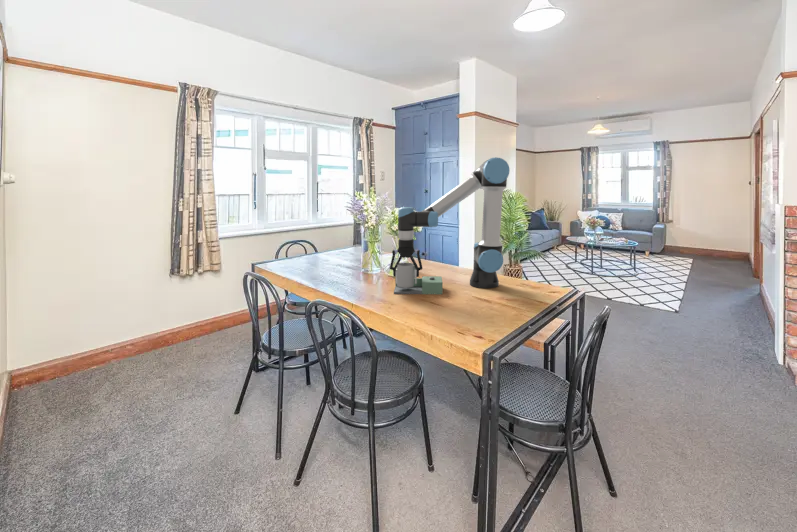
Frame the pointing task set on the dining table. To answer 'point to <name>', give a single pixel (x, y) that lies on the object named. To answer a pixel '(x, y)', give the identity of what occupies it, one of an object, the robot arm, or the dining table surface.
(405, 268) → the mug
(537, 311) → the dining table surface
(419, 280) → the green stepped block
